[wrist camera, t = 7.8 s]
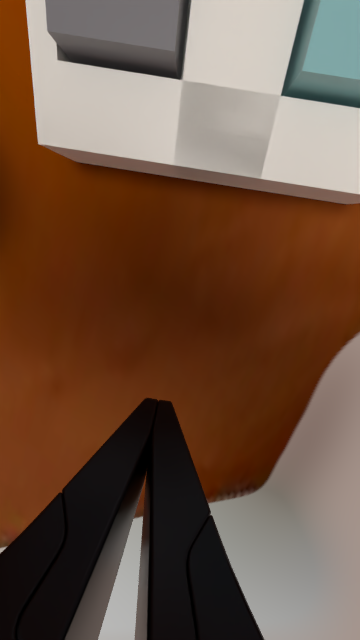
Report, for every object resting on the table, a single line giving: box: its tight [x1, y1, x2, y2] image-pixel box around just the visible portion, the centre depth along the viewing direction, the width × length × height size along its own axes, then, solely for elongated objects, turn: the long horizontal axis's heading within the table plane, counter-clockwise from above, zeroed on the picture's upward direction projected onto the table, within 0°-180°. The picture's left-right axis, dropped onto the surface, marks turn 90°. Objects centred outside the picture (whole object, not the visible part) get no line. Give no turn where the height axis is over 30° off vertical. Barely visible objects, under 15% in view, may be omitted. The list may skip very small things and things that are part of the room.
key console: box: [26, 0, 360, 204], centre depth 11 cm, size 18×12×4 cm, turn 82°
